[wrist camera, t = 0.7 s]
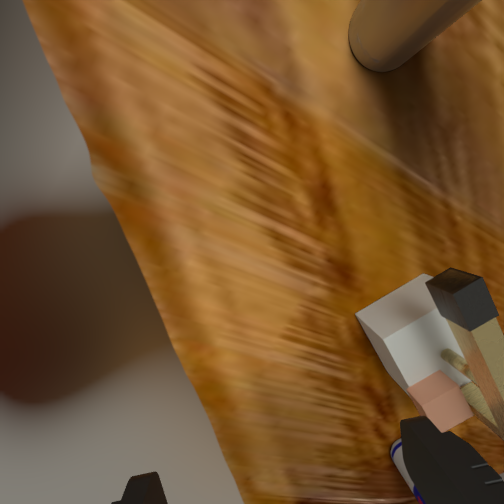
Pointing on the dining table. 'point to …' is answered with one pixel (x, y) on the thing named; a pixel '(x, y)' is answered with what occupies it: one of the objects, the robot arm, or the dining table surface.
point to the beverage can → (404, 468)
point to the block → (440, 401)
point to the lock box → (410, 334)
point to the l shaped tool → (473, 341)
